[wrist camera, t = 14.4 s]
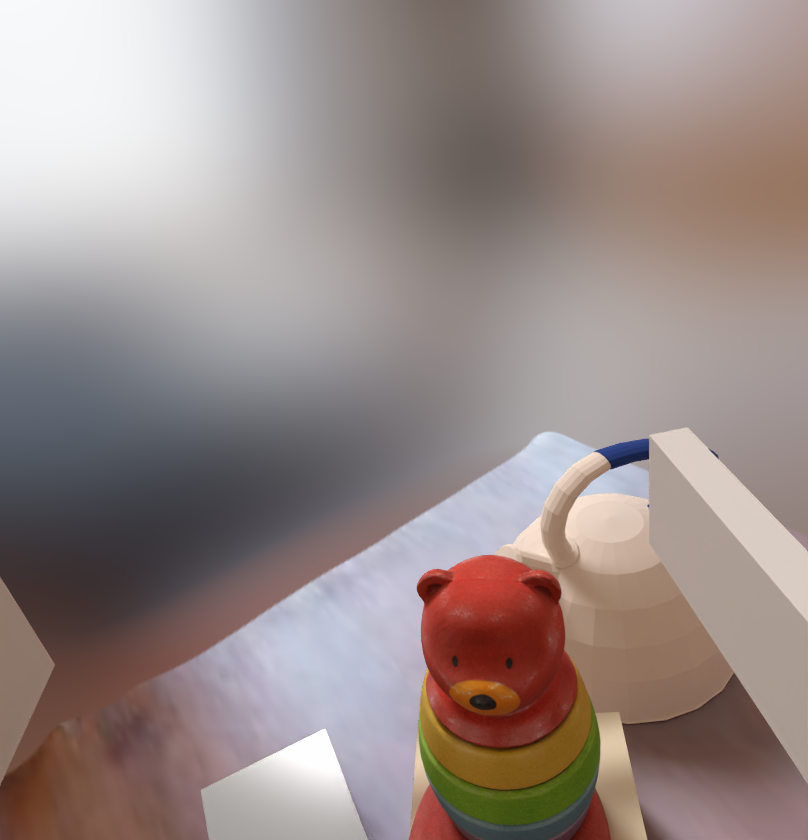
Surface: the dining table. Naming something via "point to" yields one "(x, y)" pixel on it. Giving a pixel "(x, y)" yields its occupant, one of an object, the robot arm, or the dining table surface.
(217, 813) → the stoneware block
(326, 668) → the dining table surface
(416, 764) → the birch block
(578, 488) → the kettle
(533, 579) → the stacking bear
